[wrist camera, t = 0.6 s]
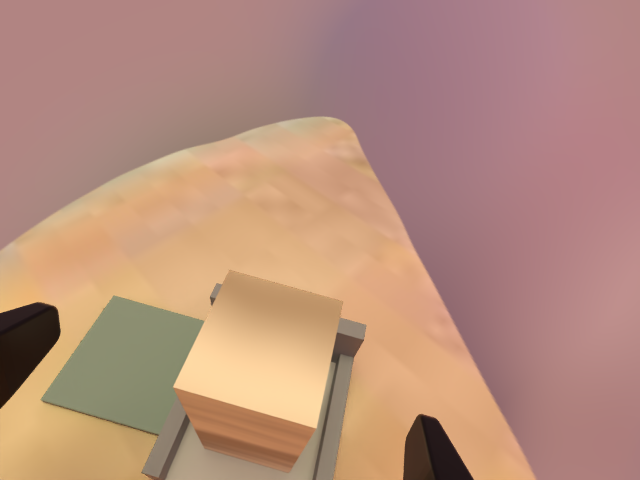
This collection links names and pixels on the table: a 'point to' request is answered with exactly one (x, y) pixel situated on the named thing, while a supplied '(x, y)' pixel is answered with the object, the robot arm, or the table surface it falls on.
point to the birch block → (259, 370)
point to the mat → (127, 365)
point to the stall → (242, 476)
